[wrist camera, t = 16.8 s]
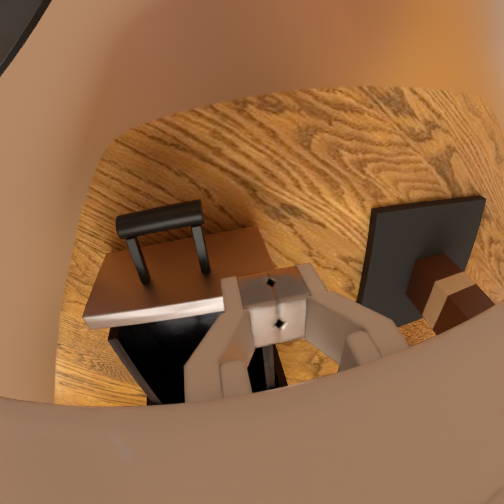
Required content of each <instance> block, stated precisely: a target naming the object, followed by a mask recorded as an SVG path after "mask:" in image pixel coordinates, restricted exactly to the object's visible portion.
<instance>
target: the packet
mask: <svg viewBox="0 0 504 504" xmlns="http://www.w3.org/2000/svg"><path fill="white" fill-rule="evenodd" d="M406 296H407V297H408V298H409V299H410V301H411V302H412V303H413V305H414V306H415V307H416V308H417V310H418V311H419V312H420V314H421V315H422V316H423V318H424V319H425V320H426V322H427V323H428V324H429V326H430V327H431V328H432V329H433V331H434V332H435V334H436V335H438V334H441V333H443V332H445V331H447V330H449V329H451V328H453V327H455V326H457V325H459V324H461V323H463V322H465V321H467V320H469V319H471V318H473V317H475V316H476V315H478V314H480V313H482V312H484V311H485V310H487V309H489V308H491V307H492V306H494V305H495V304H494V303H493V302H492V300H491V299H490V298H489V297H488V296H487V295H486V294H485V293H484V292H483V291H482V290H481V289H480V288H479V287H478V286H477V285H476V283H475V282H474V281H473V280H472V279H471V278H470V277H469V276H468V275H467V274H466V273H465V272H464V271H463V270H462V269H461V268H459V267H458V266H457V265H456V264H455V263H454V262H453V261H452V260H451V259H450V258H449V257H448V256H447V255H446V254H445V253H442V254H439V255H435V256H431V257H428V258H424V259H420V260H416V261H415V264H414V268H413V271H412V274H411V278H410V281H409V284H408V288H407V291H406Z"/></svg>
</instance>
